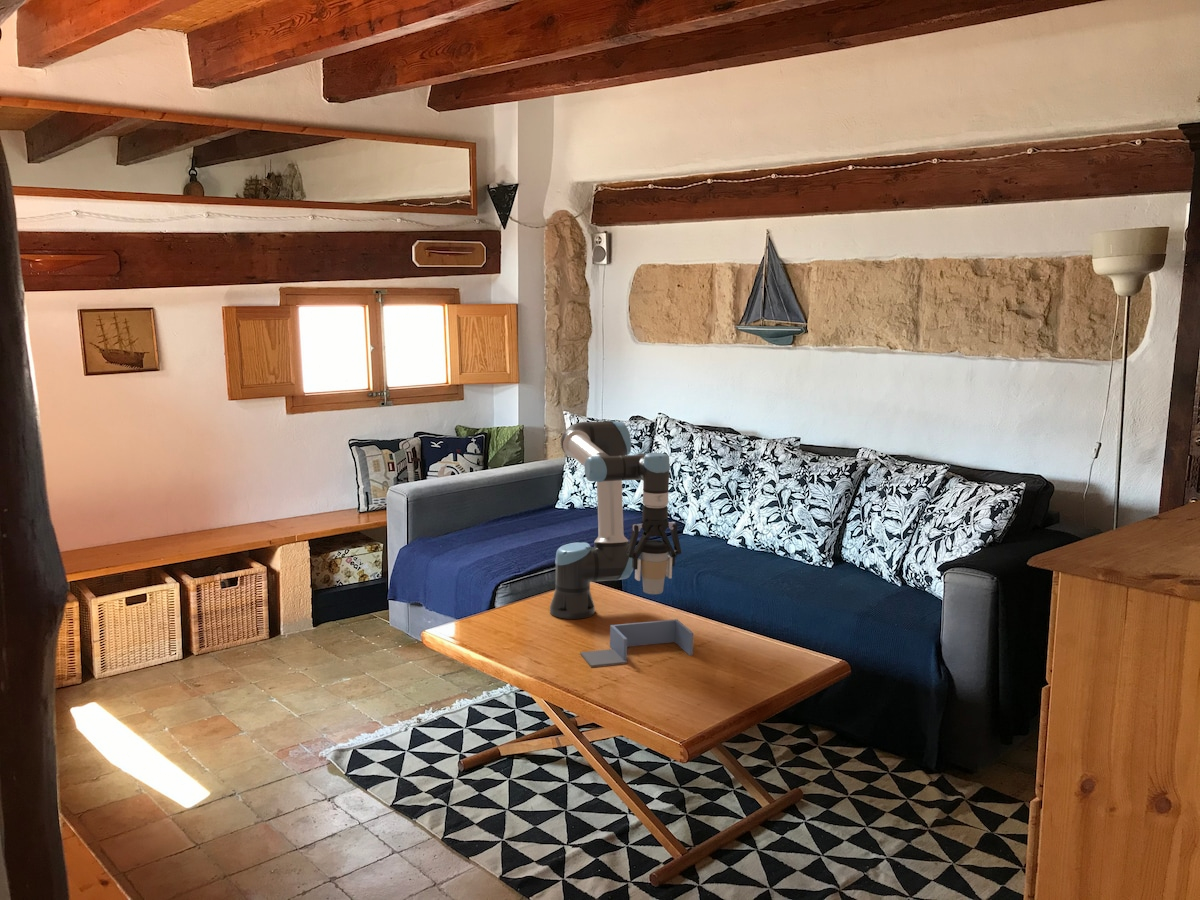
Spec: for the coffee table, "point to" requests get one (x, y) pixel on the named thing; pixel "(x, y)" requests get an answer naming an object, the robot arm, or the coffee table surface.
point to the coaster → (602, 658)
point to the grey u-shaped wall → (650, 635)
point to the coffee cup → (654, 566)
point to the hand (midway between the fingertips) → (653, 578)
